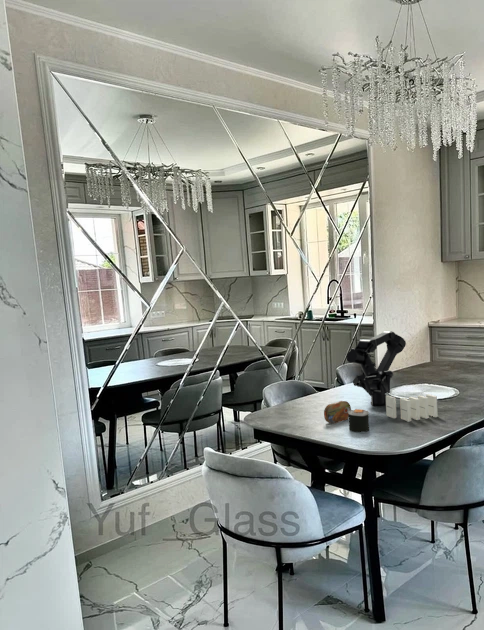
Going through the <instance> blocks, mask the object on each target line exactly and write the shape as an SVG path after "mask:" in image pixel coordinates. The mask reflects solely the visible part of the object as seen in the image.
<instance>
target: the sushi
mask: <svg viewBox="0 0 484 630" xmlns="http://www.w3.org/2000/svg"><path fill="white" fill-rule="evenodd" d="M348 414H349V418H348V429H349V431H350V432H355V433H367V432H369V431H370V421H369V420H370V419H369V417H370V416H369V415H370V413H369V411H368V410H366V409H360V408H359V409H357V408H356V409H351V411H348Z"/></svg>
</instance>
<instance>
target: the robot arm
mask: <svg viewBox="0 0 484 630" xmlns="http://www.w3.org/2000/svg"><path fill="white" fill-rule="evenodd" d="M384 343H385V344H386V352H385V353H384V355H383V357H382V359H381V361H380V362H379V364H378V366H377V369H376V367H375V366H376V363H375V362H373V361H372V358H371V357H372V355H371V354H370V353H373V352H374V351H376V350H377V348H378V346H380V345H383V344H384ZM406 345H407V343H406V340H405V338H404V337H402V336H401V335H398V334H397V333H395V332H394V331H393V330H384V331H382V332H381V333H379V334H377V335H375V336H373V337H370V338H364V339H363V338H362V339H359V341H358V343H357V344H356V346H355V347H354V348H350V350H349V352H347V354H346V361H347V362H348V363H350V364H354V365H358V366H359V365H360V367H361V370H360V372H361V374H356V376H355V377H354V378H353V380H352V384H353V386H354V387H358V388H362V389H363V390H364V391H365V392H366V393H367V394H368V395H369V396H370V400H371V401H370V404H371V405H372V406H373V407H379V406H380V407H382V406H384V407H386V396H387V394H390V393H391V379H392V378H393V376H394V373H393V371H392V370H390V367H391V366H392V364H393V363H394V360H395V358H396V356H397V355H398V354H399V353H401V352H403V351H404V349H405V347H406Z"/></svg>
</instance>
